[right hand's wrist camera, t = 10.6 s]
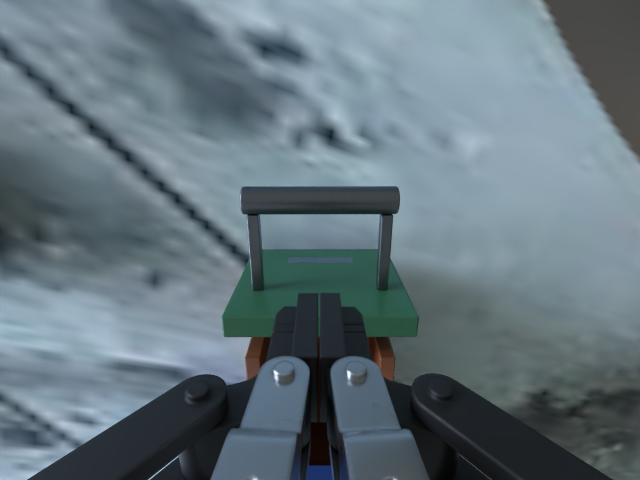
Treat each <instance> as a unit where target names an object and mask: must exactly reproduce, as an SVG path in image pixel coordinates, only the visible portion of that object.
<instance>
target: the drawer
mask: <svg viewBox="0 0 640 480" xmlns="http://www.w3.org/2000/svg"><path fill="white" fill-rule="evenodd" d="M399 205H400V193H399V189H398V187H396V186H378V187H242V189H241V192H240V207H241V211H242V213H243V214H248V215H247V226H248V239H249V252H250V259H249V261H248V263H247V266H246V268H245V270H244V272H243V274H242V276H241V278H240V280H239V282H238V284H237V286H236V288H235V290H234V292H233V295H232V297H231V299H230V301H229V303H228V305H227V307H226V309H225V311H224V313H223V315H222V326H223V335H224V337H252V338H251V341H250V344H249V348H248V351H247V354H246V357H245V363H246V374H247V380H249V379H251V378H253V377H254V376H256V375H257V374H258V372H259V370H260V368H261V367H262V365H263V364H264V363H266V358H267V354H268V349H269V345H270V340H271V335H272V331H273V326H274V322H275V317H276V314H277V313H278V312H279V311H280V310H281V309H282V308H283V307H284V306H297V301H298V293H318V422H311V432H310V440H311V450H310V459H309V466H331V459H330V450H329V440H328V436H327V422H320V293H340V299H341V306H355V307H356V308H357V310H358V311H359V312H360V313H361V314H362V316H363V321H364V326H365V331H366V335H367V340H368V345H369V350H370V355H371V359H372V361H373V362H374V363H376V364H377V365H378V367H379V368H380V370H381V372H382V375H383V377H385V378H387V379H389V380H391V381H393V379H394V367H395V356H394V353H393V349H392V346H391V343H390V340H389V337H416V336H417V329H418V320H419V317H418V314H417V312H416V310H415V308H414V306H413V304H412V302H411V300H410V298H409V296H408V294H407V292H406V290H405V288H404V286H403V284H402V281H401V279H400V277H399V275H398V273H397V271H396V269H395V267H394V265H393V263H392V261H391V259H390V251H391V238H392V224H393V215H392V214H397V213H398V210H399ZM260 214H380V224H379V241H378V249H364V250H262V240H261V224H260Z"/></svg>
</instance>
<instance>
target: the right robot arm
mask: <svg viewBox="0 0 640 480" xmlns="http://www.w3.org/2000/svg"><path fill="white" fill-rule="evenodd" d="M311 422H318V293H298V301H297V306H284V307H283V308H282V309H281V310H280V311H279V312H278V313H277V314H276V317H275V322H274V326H273V331H272V335H271V340H270V345H269V349H268V354H267V358H266V363H264V364H263V365H262V367H261V368H260V370H259V372H258V374H257V375H256V376H254V377H253V378H251V379H249V380H246V381H244V382H240V383H236V384H232V385H228V386H226V383H225V382H224V380H223V379H222V378H220V377H218V376H215V375H210V374H204V375H198V376H194V377H191V378H189V379H187V380H185V381H183V382H181V383H180V384H178V385H177V386H175V387H173V388H172V389H170V390H169V391H167V392H166V393H164V394H162V395H161V396H159V397H158V398H156V399H154V400H153V401H151V402H150V403H148V404H146V405H145V406H143V407H142V408H140V409H139V410H137V411H135V412H134V413H132V414H131V415H129V416H127V417H126V418H124V419H123V420H121V421H120V422H118V423H116V424H115V425H113V426H112V427H110V428H108V429H107V430H105V431H104V432H102V433H101V434H99V435H97V436H96V437H94V438H93V439H91V440H89V441H88V442H86V443H85V444H83V445H81V446H80V447H78V448H77V449H75V450H74V451H72V452H70V453H69V454H67V455H66V456H64V457H62V458H61V459H59V460H58V461H56V462H55V463H53V464H51V465H50V466H48V467H47V468H45V469H43V470H42V471H40V472H39V473H37V474H36V475H34V476H32V477H31V478H29V479H28V480H148V479H149V478H150V477H152V476H153V475H154V474H155V473H157V472H158V471H159V470H160V469H162V468H163V467H164V466H166V465H167V464H168V463H169V462H171V461H172V460H173V459H174V458H176V457H177V456H178V455H179V457H178V458H177V459H175V460H174V461H173V462H172V463H170V464H169V465H168V466H167V467H165V468H164V469H163V470H162V471H160V472H159V473H158V474H157V475H155V476H154V477H153V478H152V479H150V480H307V477H308V468H309V459H310V450H311V440H310V432H311ZM320 422H327V436H328V440H329V450H330V459H331V468H332V477H333V480H490V479H488V478H487V477H486V476H485V475H483V474H482V473H481V472H480V471H478V470H477V469H476V468H475V467H473V466H472V465H471V464H470V463H468V462H467V461H466V460H465V459H463V458H462V457H461V456H460V455H459V454H461V455H462V456H463V457H464V458H466V459H467V460H468V461H469V462H471V463H472V464H473V465H474V466H476V467H477V468H478V469H479V470H481V471H482V472H483V473H485V474H486V475H487V476H488V477H490V478H491V479H492V480H612V479H611V478H609V477H608V476H606V475H604V474H603V473H601V472H600V471H598V470H597V469H595V468H593V467H592V466H590V465H589V464H587V463H585V462H584V461H582V460H581V459H579V458H578V457H576V456H574V455H573V454H571V453H570V452H568V451H566V450H565V449H563V448H562V447H560V446H558V445H557V444H555V443H554V442H552V441H551V440H549V439H547V438H546V437H544V436H543V435H541V434H539V433H538V432H536V431H535V430H533V429H532V428H530V427H528V426H527V425H525V424H524V423H522V422H520V421H519V420H517V419H516V418H514V417H513V416H511V415H509V414H508V413H506V412H505V411H503V410H501V409H500V408H498V407H497V406H495V405H493V404H492V403H490V402H489V401H487V400H486V399H484V398H482V397H481V396H479V395H478V394H476V393H474V392H473V391H471V390H470V389H468V388H467V387H465V386H463V385H462V384H460V383H459V382H457V381H455V380H454V379H452V378H450V377H447V376H444V375H440V374H424V375H421V376H419V377H417V378H416V379H415V380H414V382H413V384H412V386H409V385H405V384H401V383H397V382H393V381H391V380H389V379H387V378H385V377H383V375H382V372H381V370H380V368H379V367H378V365H377V364H376V363H374V362H373V361H372V359H371V355H370V350H369V345H368V340H367V335H366V331H365V326H364V321H363V316H362V314H361V313H360V312H359V311H358V310H357V308H356V307H355V306H341V299H340V293H320Z"/></svg>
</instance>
